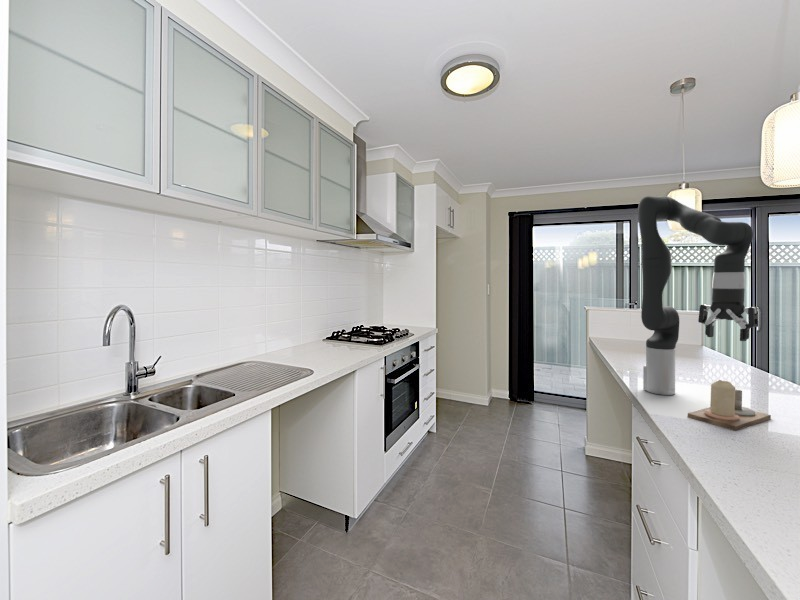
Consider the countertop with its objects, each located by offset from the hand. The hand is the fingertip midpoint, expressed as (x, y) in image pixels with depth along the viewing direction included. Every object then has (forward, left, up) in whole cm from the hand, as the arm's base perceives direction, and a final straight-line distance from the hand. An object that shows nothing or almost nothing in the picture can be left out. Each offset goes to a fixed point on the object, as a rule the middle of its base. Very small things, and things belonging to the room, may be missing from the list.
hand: (726, 338), depth 114 cm
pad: (+2, -5, -23) cm, 24 cm away
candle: (+2, -5, -23) cm, 23 cm away
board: (+2, -1, -24) cm, 24 cm away
